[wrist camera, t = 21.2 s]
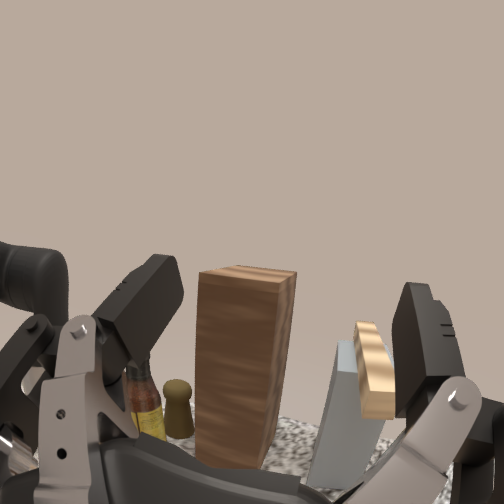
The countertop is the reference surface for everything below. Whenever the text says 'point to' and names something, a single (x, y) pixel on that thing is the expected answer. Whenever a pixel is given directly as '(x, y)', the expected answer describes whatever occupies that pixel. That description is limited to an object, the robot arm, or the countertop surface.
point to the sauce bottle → (145, 401)
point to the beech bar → (374, 373)
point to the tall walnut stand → (240, 362)
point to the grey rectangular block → (343, 427)
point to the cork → (178, 409)
